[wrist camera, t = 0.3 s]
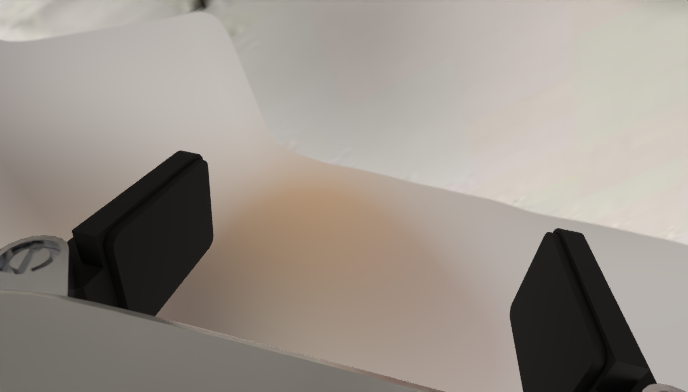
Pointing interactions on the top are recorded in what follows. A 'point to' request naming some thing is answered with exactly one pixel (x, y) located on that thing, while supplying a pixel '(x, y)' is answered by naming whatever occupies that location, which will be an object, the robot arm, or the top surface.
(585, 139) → the top surface
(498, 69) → the top surface
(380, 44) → the top surface
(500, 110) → the top surface
